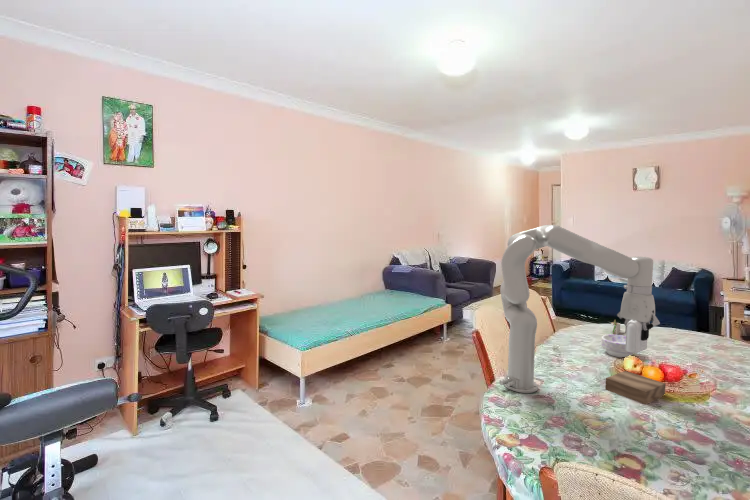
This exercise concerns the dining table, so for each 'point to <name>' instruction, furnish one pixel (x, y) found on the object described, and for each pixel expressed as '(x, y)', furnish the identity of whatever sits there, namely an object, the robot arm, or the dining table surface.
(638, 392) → the walnut block
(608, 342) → the paper bowls
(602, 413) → the dining table surface
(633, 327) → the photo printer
